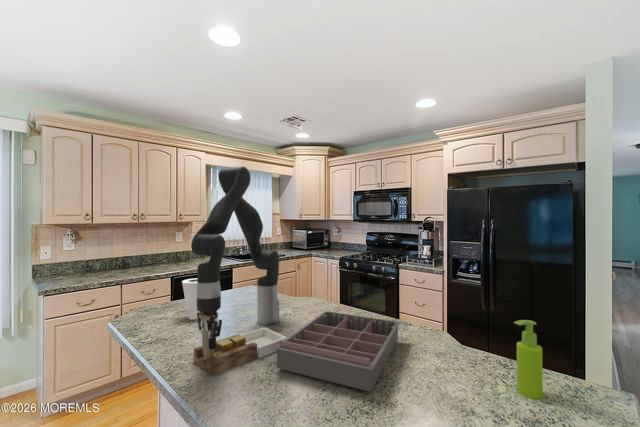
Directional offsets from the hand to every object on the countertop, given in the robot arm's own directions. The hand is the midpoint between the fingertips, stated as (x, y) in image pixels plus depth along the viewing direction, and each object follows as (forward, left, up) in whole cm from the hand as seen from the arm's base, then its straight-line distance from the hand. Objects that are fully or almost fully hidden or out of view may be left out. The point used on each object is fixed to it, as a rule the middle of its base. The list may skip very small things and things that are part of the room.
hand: (209, 346), depth 100 cm
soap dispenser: (-55, +78, -7) cm, 96 cm away
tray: (-20, 0, -6) cm, 21 cm away
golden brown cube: (-10, 0, -4) cm, 11 cm away
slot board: (-6, 0, -6) cm, 9 cm away
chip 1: (-5, 0, -4) cm, 7 cm away
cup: (-15, -49, -7) cm, 52 cm away
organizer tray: (-36, +27, -7) cm, 46 cm away
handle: (0, 0, -4) cm, 4 cm away
